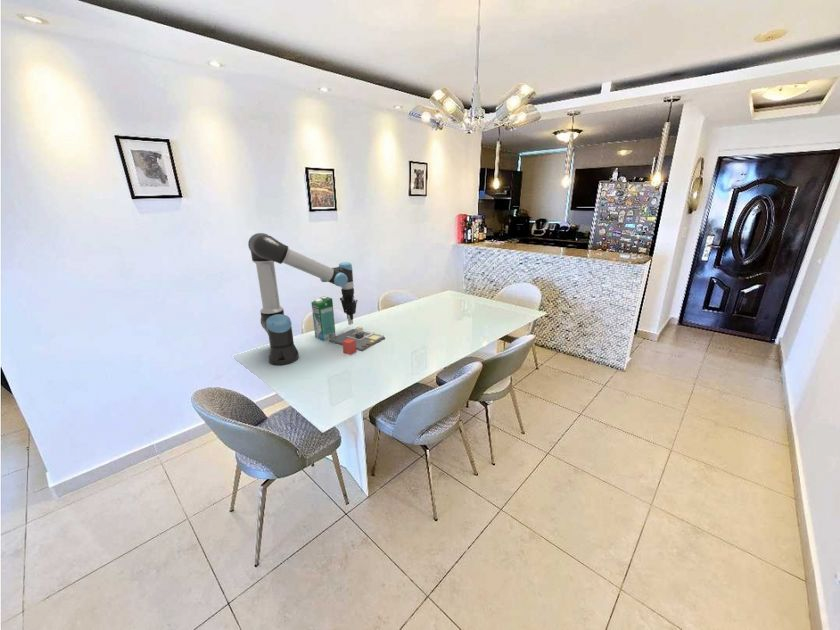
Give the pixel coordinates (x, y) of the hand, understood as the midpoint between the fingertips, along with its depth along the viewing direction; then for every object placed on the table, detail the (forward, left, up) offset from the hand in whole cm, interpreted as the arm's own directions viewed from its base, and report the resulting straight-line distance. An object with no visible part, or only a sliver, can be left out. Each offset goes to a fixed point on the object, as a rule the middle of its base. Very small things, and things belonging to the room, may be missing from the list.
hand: (350, 324), depth 214 cm
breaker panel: (+11, -6, -6) cm, 14 cm away
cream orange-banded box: (+7, 0, -5) cm, 8 cm away
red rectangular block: (+19, -21, -6) cm, 29 cm away
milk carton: (-9, -13, -6) cm, 17 cm away
